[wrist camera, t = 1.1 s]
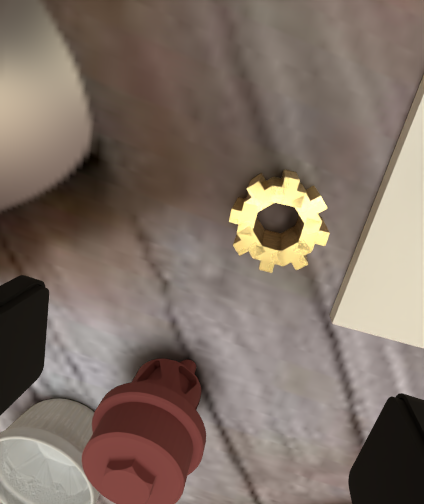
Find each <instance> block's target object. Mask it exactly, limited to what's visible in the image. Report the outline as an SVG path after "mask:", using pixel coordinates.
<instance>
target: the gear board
mask: <svg viewBox="0 0 424 504" xmlns="http://www.w3.org/2000/svg"><path fill="white" fill-rule="evenodd" d="M330 318H331V321H332V324H335V325H339V326H343V327H346V328H350V329H354V330H358V331H361V332H365V333H369V334H372V335H376V336H380V337H383V338H387V339H391V340H395V341H398V342H402V343H406V344H409V345H413V346H417V347H421V348H424V75H423V78H422V80H421V83H420V85H419V88H418V90H417V93H416V96H415V98H414V101H413V103H412V106H411V108H410V111H409V113H408V116H407V119H406V121H405V124H404V126H403V129H402V131H401V134H400V136H399V139H398V142H397V144H396V147H395V149H394V152H393V154H392V157H391V159H390V162H389V165H388V167H387V170H386V172H385V175H384V177H383V180H382V182H381V185H380V188H379V190H378V193H377V195H376V198H375V200H374V203H373V206H372V208H371V211H370V213H369V216H368V218H367V221H366V223H365V226H364V229H363V231H362V234H361V236H360V239H359V241H358V244H357V246H356V249H355V252H354V254H353V257H352V259H351V262H350V264H349V267H348V269H347V272H346V275H345V277H344V280H343V282H342V285H341V287H340V290H339V292H338V295H337V298H336V300H335V303H334V305H333V308H332V310H331V313H330Z"/></svg>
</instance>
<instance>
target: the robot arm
mask: <svg viewBox="0 0 424 504" xmlns="http://www.w3.org/2000/svg"><path fill="white" fill-rule="evenodd" d="M48 302H49V290H48V289H47V288H45V284H44V282H43V281H40V280H37V279H34V278H31V277H28V276H24V275H21V276H18V277H16V278H14V279H12V280H11V281H9V282H7V283H5V284H3V285H1V286H0V415H1V414H2V413H3V412H4V411H5V410H6V409H7V408H9V407H10V406H11V405H12V404H13V403H14V402H15V401H16V400H17V399H18V398H19V397H20V396H21V395H22V394H23V393H24V392H25V391H26V390H27V389H28V388H29V387H30V386H31V385H32V384H33V383H34V382H35V381H36V380H37V379H38V378H39V376H40V375H41V373H42V371H43V368H44V358H45V344H46V330H47V316H48ZM349 490H350V495H351V500H352V504H424V400H422V399H418V398H415V397H412V396H409V395H406V394H402V393H401V394H398V395H397V396H396V397H390V398H388V400H387V402H386V403H385V405H384V407H383V409H382V411H381V413H380V415H379V417H378V419H377V421H376V423H375V424H374V426H373V428H372V430H371V432H370V434H369V436H368V438H367V440H366V442H365V443H364V445H363V447H362V449H361V451H360V453H359V455H358V457H357V459H356V461H355V463H354V464H353V466H352V468H351V470H350V474H349Z"/></svg>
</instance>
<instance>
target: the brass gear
mask: <svg viewBox="0 0 424 504" xmlns="http://www.w3.org/2000/svg"><path fill="white" fill-rule="evenodd" d="M299 181H300V180H299V178H298V175H297V173H296V172H294V171H289V170H285V169H284V171H283V174H282V178H277V177H272V178H270V179H269V180H267V181H266V180H265V178H264V176H263V175H262V173H261V174H259V175H258V176H256V177H254V178H253V179H251V181H250V183H249V185H248V187H247V190H248V195H247V197H246V199H244V198H240V197H238V199H237V200H236V202H235V204H234V206H233V208H232V210H231V215H230V219H229V222H231V223H235V224H239V225H238V230H237V235H236V238H235V241H234V243H233V246H234V247H235V249H236V251H237V252H238V254H239V255H242V254H244V253H246V252H248V251H249V253H250V255H251V256H252V258H253V259H257V260H260V265H259V270H263V271H267V272H271V273H272V271H273V268H274V264H277V265H280V266H285V265H287V264H289V263H292V264H293V266H294V268H295V269H296V270H298V269H300V268H302V267H304V266H306V265H308V260H307V256H306V254H308V253H310V252H312V250H313V247H314V244H319V245H323V246H325V245H326V242H327V239H328V236H329V234H330V233H329V231H328V229H327V227H326V225H325V223H324V221H323V218H322V217H320V216H319V214H318V213H320V212H322V211H323V210H325V209H327V206H326V204H325V203H324V201H323V199H322V197H321V196H320V194H319V192H318V191H317V189H316V188H315V186H312V187H310V188H308V189H307V190H305V188H304V187H303V185H302V183H299ZM275 202H276V203H280V204H284V205H288V206H292V207H295V208H296V210H297V212H298V214H299V216H298V219H297V222H296V226H294V227H292V228H290V229H288V230H286V231H284V232H283V233H277V232H273V231H269V230H265V229H264V228H263V226H262V224H261V223H260V221H259V220H258V218H257V213H258V212H259V211H261V210H263V209H264V208H266V207H268V206H269V205H271V204H273V203H275Z"/></svg>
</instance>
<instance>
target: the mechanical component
mask: <svg viewBox="0 0 424 504" xmlns="http://www.w3.org/2000/svg"><path fill="white" fill-rule="evenodd" d="M195 370H196V364H195V363H194V362H193V361H191V360H188V359H187V360H183V361H181V362H177V361H174V360H170V359H154V360H151V361H148V362H146V363H145V364H143V365H142V366H141V367H140V369H139V370H138V372H137V374H136V376H135V377H134V379H133V381H132V382H131V383H127V384H123V385H120V386H117V387H115V388H114V389H112V390H111V391H109V392H108V393H107V394H106V395H105V397H104V398H103V399H102V401H101V402H100V404H99V406H98V407H97V409H96V410H95V412H94V415H93V418H92V432H93V435H92V436H91V438H90V440H89V441H88V443H87V445H86V446H85V448H84V450H83V453H82V467H83V470H84V473H85V475H86V477H87V479H88V480H89V482H90V483H91V484H92V486H93V487H94V488H95V489H96V490H97V491H98V492H99V493H101V494H102V495H103V496H104V497H106V498H107V499H109V500H110V501H112V502H114V503H116V504H175V503H176V502H177V501H178V500H179V499H180V497H181V495H182V493H183V490H184V486H185V482H186V478H187V475H189V474H190V473H192V472H193V471H194V470H195V469H196V468H197V467H198V465H199V463H200V462H201V459H202V456H203V452H204V447H205V443H206V431H205V427H204V423H203V421H202V419H201V417H200V415H199V414H198V412H197V411H196V409H197V406H198V404H199V401H200V397H201V386H200V383H199V380H198V379H197V377H196V375H195V374H194V373H195Z"/></svg>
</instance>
